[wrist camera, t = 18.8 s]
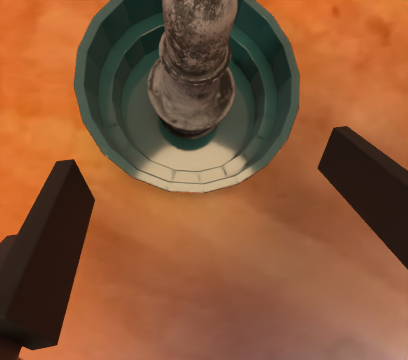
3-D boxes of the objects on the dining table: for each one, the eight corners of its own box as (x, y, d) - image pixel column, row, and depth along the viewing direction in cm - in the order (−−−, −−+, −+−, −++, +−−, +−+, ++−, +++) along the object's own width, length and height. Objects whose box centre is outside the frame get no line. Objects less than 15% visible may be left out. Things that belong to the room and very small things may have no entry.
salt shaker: (139, 100, 18) (56, -84, 6) (196, 60, 19) (221, -175, 7) (183, 157, 18) (188, 85, 6) (238, 115, 19) (338, -22, 7)
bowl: (143, 3, 19) (130, -63, 14) (291, 70, 20) (327, 29, 15) (74, 154, 18) (33, 139, 13) (237, 217, 19) (257, 226, 14)
